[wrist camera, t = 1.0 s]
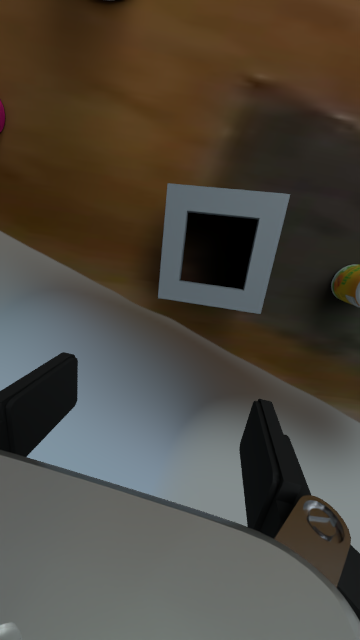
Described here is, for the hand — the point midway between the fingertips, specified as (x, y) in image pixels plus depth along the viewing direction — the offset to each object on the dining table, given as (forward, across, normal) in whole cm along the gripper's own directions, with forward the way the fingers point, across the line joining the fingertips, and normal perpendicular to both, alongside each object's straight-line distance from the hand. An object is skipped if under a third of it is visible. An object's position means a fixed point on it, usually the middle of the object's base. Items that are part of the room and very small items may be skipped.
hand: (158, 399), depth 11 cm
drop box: (+26, -1, -8) cm, 28 cm away
